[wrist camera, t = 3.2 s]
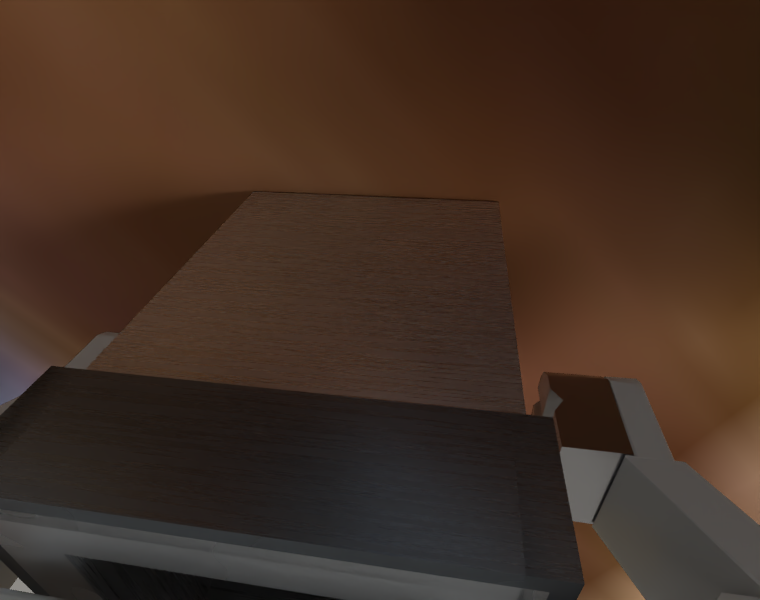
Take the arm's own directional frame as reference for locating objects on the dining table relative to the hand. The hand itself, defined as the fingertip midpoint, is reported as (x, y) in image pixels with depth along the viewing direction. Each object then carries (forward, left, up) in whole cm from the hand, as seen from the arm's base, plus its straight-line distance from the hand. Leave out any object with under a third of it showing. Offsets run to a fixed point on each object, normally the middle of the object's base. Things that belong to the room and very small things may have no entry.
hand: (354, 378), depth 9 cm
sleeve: (0, 0, -3) cm, 3 cm away
